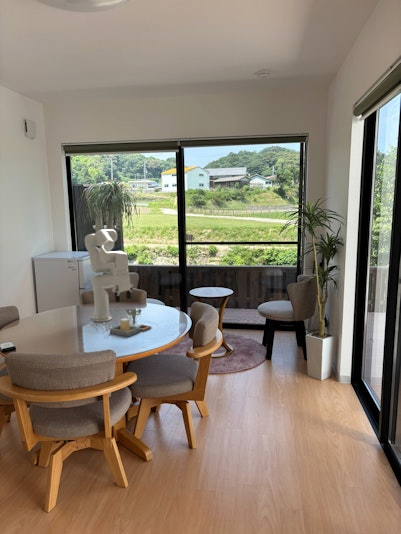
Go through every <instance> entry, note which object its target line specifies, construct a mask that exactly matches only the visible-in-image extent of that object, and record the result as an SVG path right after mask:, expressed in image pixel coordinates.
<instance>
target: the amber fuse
mask: <svg viewBox="0 0 401 534" xmlns="http://www.w3.org/2000/svg"><path fill="white" fill-rule="evenodd" d="M119 322H120V324H119V325H120V326H121V330H122V331H127V332H128V331H130V326H131V324H130V318H126V317H125V318H121V319H120V320H119Z"/></svg>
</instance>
